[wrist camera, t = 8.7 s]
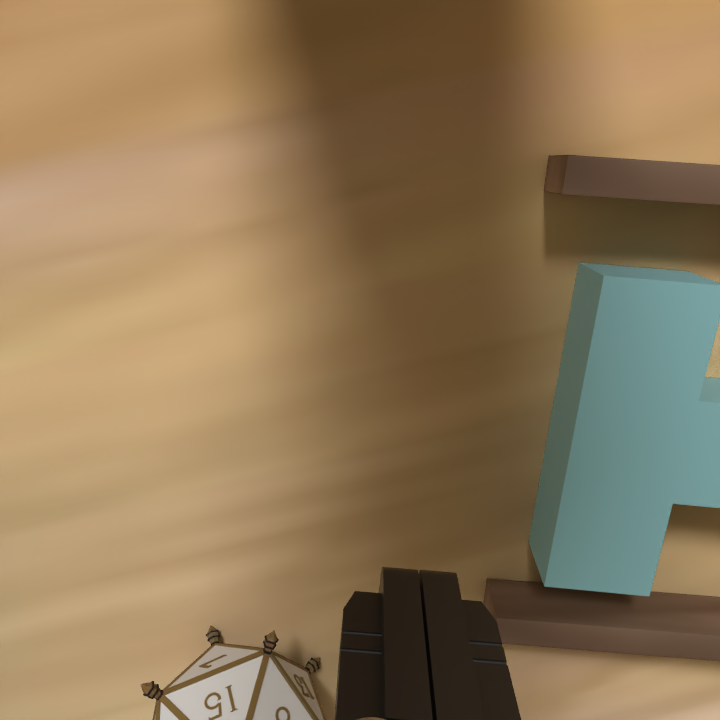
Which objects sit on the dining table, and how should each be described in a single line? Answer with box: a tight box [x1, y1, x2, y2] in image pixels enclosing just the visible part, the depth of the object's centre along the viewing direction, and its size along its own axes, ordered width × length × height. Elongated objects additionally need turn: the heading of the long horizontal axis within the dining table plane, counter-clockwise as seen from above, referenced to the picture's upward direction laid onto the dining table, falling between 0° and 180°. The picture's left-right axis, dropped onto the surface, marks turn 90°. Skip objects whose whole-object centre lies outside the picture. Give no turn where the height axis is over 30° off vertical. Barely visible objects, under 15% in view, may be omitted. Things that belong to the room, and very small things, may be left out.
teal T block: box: [528, 262, 720, 596], centre depth 24 cm, size 12×11×3 cm
